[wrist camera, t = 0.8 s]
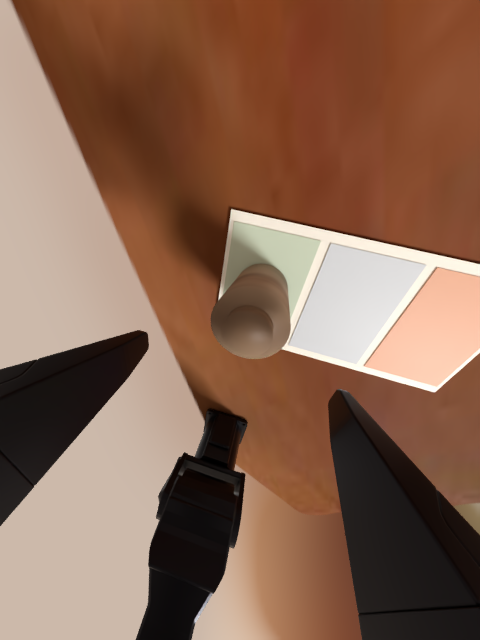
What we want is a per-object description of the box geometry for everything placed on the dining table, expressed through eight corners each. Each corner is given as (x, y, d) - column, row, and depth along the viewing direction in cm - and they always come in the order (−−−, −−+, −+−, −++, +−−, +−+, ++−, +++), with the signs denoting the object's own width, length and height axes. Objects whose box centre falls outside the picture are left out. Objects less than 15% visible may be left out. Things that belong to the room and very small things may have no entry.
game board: (432, 389, 19) (435, 393, 19) (214, 328, 21) (213, 330, 21) (553, 280, 13) (561, 282, 13) (232, 209, 15) (231, 209, 15)
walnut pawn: (278, 319, 18) (276, 378, 11) (231, 306, 19) (201, 356, 12) (295, 270, 16) (305, 309, 9) (240, 257, 16) (209, 284, 9)
